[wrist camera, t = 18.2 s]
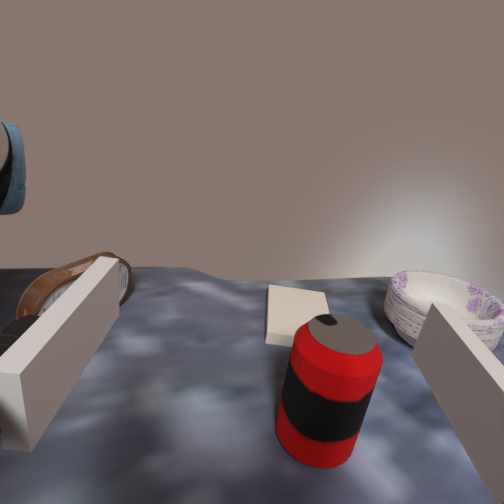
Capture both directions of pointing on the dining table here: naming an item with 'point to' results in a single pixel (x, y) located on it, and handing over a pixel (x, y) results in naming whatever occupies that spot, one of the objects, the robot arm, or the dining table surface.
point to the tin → (65, 285)
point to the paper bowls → (444, 292)
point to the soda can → (327, 389)
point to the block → (290, 312)
